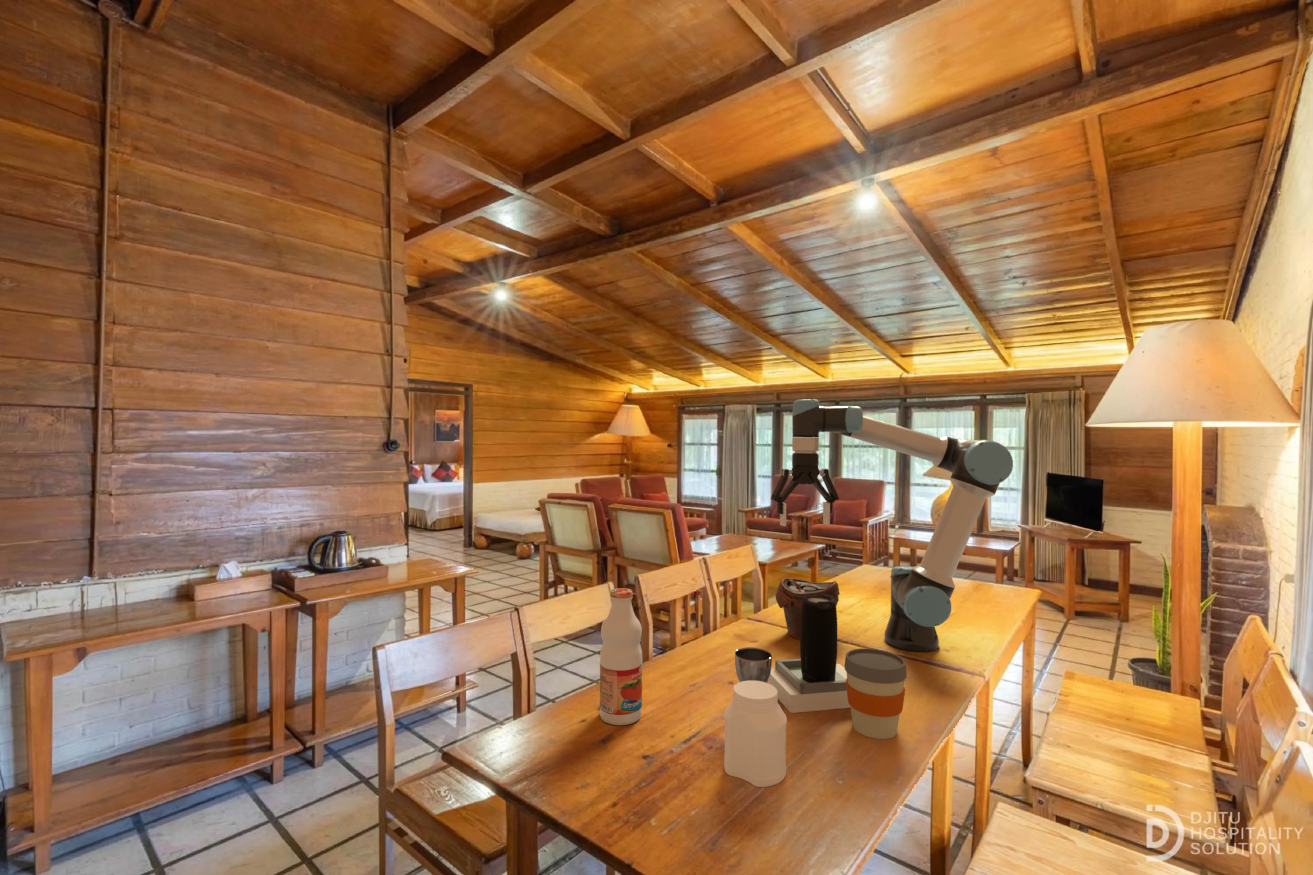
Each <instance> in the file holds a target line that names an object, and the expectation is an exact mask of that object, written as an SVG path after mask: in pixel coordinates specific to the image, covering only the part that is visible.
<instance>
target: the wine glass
mask: <svg viewBox="0 0 1313 875" xmlns="http://www.w3.org/2000/svg"><path fill="white" fill-rule="evenodd" d="M772 660H773V655H772V653H771V652H770V651H769V650H766V649H764V648H760V647H752V646H751V647H750V646H749V647H741V648H738V649H736V650H735V652H734V662H735V663H734V666H735V673H736V676H737V680H738V682H742V681H750V680H753V681H762V682H766V683H767V682H768V680H769V678H770V673H771V669H772V664H773V662H772Z"/></svg>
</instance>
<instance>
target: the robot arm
mask: <svg viewBox="0 0 1313 875" xmlns="http://www.w3.org/2000/svg"><path fill="white" fill-rule="evenodd" d="M791 418H792V420H791V421H792V422H791V423H792V424H791V425H792V426H791V427H792V428H791V429H792V431H791V432H792V437H791V438H792V444H791V445H792V446H791V447H792V448H791V449H792V451H793V453H792V454H791V458H792V459H791V469H788V468H782V469H781V474H780V478H779V480H778V482H777V484H776V486H775V488H774V490H773V492H772V495H771V497H770V500H771V501H773V502H776V504H777V506H776V507H777V508H776V509H777V510H776V513H777V514H778V515H779V525H780V526H782V527H787V503H785V501H786V500H787V499H788V497H789V496H790V495H791V494H792V492H793V491H794V490H795V489H796V488H797V486H799V485H813V486H814V488H815V489H816V490H817V491H818V493H819V494H820V496H822V497H823V499H824V500H825V501H823V502H822V504H823V505H822V506H823V507H822V509H823V510H822V524H823V525H826V526H830V524H831V522H830V521H831V514H833V503H835V501H839V499H840V496H839V495H838V493H837V490H836V488H835V486H834V483H833V481H832V479H831V477H830V471H829V469H828V468H821V469H819V457H820V455H819V453H818V452H819V450H820V448H819V446H820V442H819V440H820V438H819V437H820V435H819V434H820V433H832V434H838V435H840V436H841V435H842V436H845V437H848V438H852V439H856V440H859V441H862V442H866V443H868V444H872V445H875V446H878V447H881V448H885V449H888V450H890V451H895V452H898V453H901V454H904V455H907V456H912V457H914V458H918V459H922V460H925V461H928V462H931V464H932V465H933V467H936V468H939V469H942V470H945V471H947V472H950V473H951V476H950V478H949V480H950V482H951V484H952V489H951V491H950V493H949V495H948V498H947V500H946V503H945V505H944V508H943V510H942V512H941V514H940V517H939V519H938V521H937V525H936V526H935V529H934V531H933V534H932V536H931V539H930V540H929V543H928V546H927V547H926V550H925V552H924V555H923V557H922V560H921V561H920V563H919V564H918V565H916V566H907V565H906V566H904V565H903V566H901V565H900V566H899V565H898V566H897V565H896V566H894V567H892V568H891V573H890V577H889V578H890V616H889V619H888V622H887V624H886V627H885V628H886V629H885V630H884V641H885V643H887V644H888V645H890V646H892V647H895V648H898V649H901V650H905V651H909V652H910V651H911V652H922V653H923V652H932V651H935V650H938V648H939V647H940V646H939V645H940V644H939V643H940V642H939V641H940V640H939V636H938V634H937V630H936V627H938V626H940V625H943V624H944V623H945V622H946V621H947V620H948V619H949V618H950V616H951V612H952V601H951V598H952V595H953V593H954V590H955V588H956V585H955V583H954V580H953V577H954V575H955V572H956V570H957V568H958V565H959V564H960V561H961V558H962V556H963V554H964V551H965V549H966V547H967V544H968V542H969V540H970V537H971V535H972V533H973V530H974V528H975V526H976V523H977V521H978V518H979V516H980V514H981V513H982V512H981V511H982V509H983V507H984V504H985V502H986V500H987V499H988V498H991V497H993V496H995V495H996V492H997V491H998V488H999V486H1000V484H1001V483H1003V482H1004V481H1005V480H1007V479H1008V478H1009V477H1010V475H1011V473H1012V471H1013V468H1014V460H1013V456H1012V455H1011V452H1010V450H1008V448H1006V446H1005V445H1003V444H1002V443H1000V442H998V441H994V440H990V439H961V438H956V437H955V438H954V437H950V436H946V435H943V436H942V437H938V436H935V435H931V434H928V433H924V432H922V431H918V430H914V429H910V428H908V427H903V426H900V425H897V424H894V423H891V422H890V423H889V422H886V421H882V420H879V419H875V418H873V417H869V416H865V415H864V413H863V409H862V407H860V406H853V405H841V406H839V405H836V406H831V405H830V406H823V405H820V401H819V400H818V399H815V398H813V399H812V398H811V399H809V398H808V399H807V398H806V399H804V398H803V399H801V398H800V399H796V400H795V401H793V403H792V416H791ZM790 476H792V477H793V478H792V479H791V480H790V481H789V483H788V485H787V486H785V485H786V484H787V481H788V479H789V477H790ZM818 476H821V479H822V481H823V483H824V486H825V487H824V486H823V484H822V483H821V481H820V480H819V478H818ZM784 487H785V489H784ZM826 489H827V490H826Z"/></svg>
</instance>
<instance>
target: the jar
mask: <svg viewBox="0 0 1313 875" xmlns="http://www.w3.org/2000/svg"><path fill="white" fill-rule="evenodd" d="M732 692H733V693H732V694H733V695H732V700H731V702H730V703H729V705H728V706H727V707H726V709H725V710H724V714H723V716H724V718H723V719H724V757H723V769H724V771H725V773H726V775H728V776H730V777H733V778H734V777H735V778H738V779H740V780H743V781H746V782H747V783H749V784H750V785H752V786H753V787H754V786H755V787H757V788H767V787H772V786H775V785H778V784H779V783H781V782H782V781H783V780H784V779H785V777H786V775H787V762H786V758H787V756H786V754H787V748H786V747H787V746H786V744H787V742H786V741H787V721H788V720H787V715H786V714H785V712H784V711H783V709H782V708H781V706H780V704H779V703H778V702H779V701H778V700H779V699H778V696H777V695H778V691H777V689H776V688H775V687H774V686H773V685H771V684H769V683H766V682H762V681H753V680H750V681H742V682H740V681H738V682H737V683H735V684H734V686H733V691H732Z"/></svg>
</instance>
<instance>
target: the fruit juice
mask: <svg viewBox="0 0 1313 875" xmlns="http://www.w3.org/2000/svg"><path fill="white" fill-rule="evenodd" d="M633 595H634V593H633V590H632V589H630V588H625V587H620V588H619V587H617V588H613V589H611V590H610V599H611V605H610V609H609V612H608V615H607V617H606V618H605V619H604V620H603V622H602V624H601V628H600V637H601V639H602V640H601V641H602V647H601V648H600V652H599V655H600V656H599V716H600V718H601V720H602V721H603V722H605V723H606V724H609V725H612V726H627V725H632V724H634V723H636V722H638V721H639V720H640V719H641V716H642V714H643V713H642V712H643V650H642V647H641V644H640V641H641V638H642V634H643V632H642V631H643V630H642V628H643V627H642V624H641V622H640V620H639V619H638V618H637V616H636V614H635V612H634V608H633V604H632V599H633Z"/></svg>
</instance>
